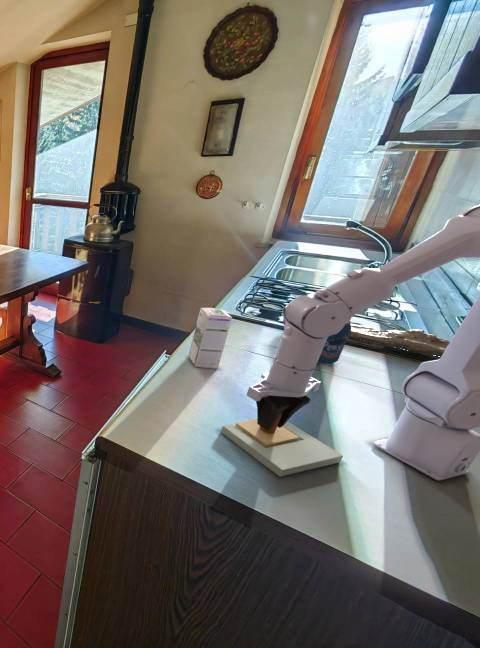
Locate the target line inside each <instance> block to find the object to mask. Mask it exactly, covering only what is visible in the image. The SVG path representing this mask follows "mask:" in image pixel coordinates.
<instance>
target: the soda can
mask: <svg viewBox="0 0 480 648" xmlns="http://www.w3.org/2000/svg"><path fill="white" fill-rule="evenodd" d="M351 324H352V321H351V320H349V321H347V322H346V324H345V325H344V327H343V328H342V329H341V330H340V331H339V332H338V333H337V334H334V335H331V336H328V338H327V340H326V343H325V345H324V347H323V350H322V352H321V355H320V357H319V359H318V362H317V364H321V365H325V366H326V365H327V366H329V365H330V366H331V365H333V364H334V363H337V362H338V361H339V360H340V357H341V354H342V352H343V350H344V348H345V346H346V343H347V341H348V336H349V334H350V332H351V329H352V328H351Z"/></svg>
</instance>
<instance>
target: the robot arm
mask: <svg viewBox="0 0 480 648" xmlns="http://www.w3.org/2000/svg"><path fill="white" fill-rule="evenodd" d="M460 258H479V259H480V204H479V205H475V206H472V207H470V208H468V209H467V210H465V211H463V212H462V213H461V214H459V215H456V216H453V217H451V218H450V219H448V220H447V221H446V223H445V224H444V226H443V228H442V229H441V230H440V231H438V232H436V233H435V234H433V235H432V236H430V237H428V238H426V239H425V240H423V241H421V242H419V243H418V244H417V245H414V246H413V247H412V248H410V249H408V250H406V251H404V252H403V253H401V254H400V255H398V256H396V257H394V258H393V259H391V260H389V262H386V263H384V264H383V265H381V266H379V267H377V268H369V267H363V268H359V269H353V270H350V271H349V272H347V273H346V276H345V277H343V278H341V279H340V280H338V281H335V282H334V283H332V284H330V285H327V286H326V287H324V288H320V289H318V290H317V291H315V293H314V294H307V295H306V294H303V295H299V296H297V297H295V298H294V299H292V300H291V301H290V302H289V303H288V304H287V305H286V306H283V307H282V311H281V312H282V313H281V314H282V317H283V319H285V326H284V325H283V332H282V335H281V337H280V340H279V343H278V345H277V348H276V352H275V354H274V357H273V359H272V362H271V365H270V367H269V370H268V372H263V373H261V375H260V378H261V380H259V381H258V382H257V383H255V384H254V385H250V386H249V387H248V389H247V392H246V397H248V398H249V399H251V400H253V401H255V403H256V413H257V415H256V417H257V418H256V419H257V424H258V425H260V426H261V427H263V428H264V429H266V430H270V429H271V428H272V427H273V425H274V423H275V421H276V420H277V418H278V416H279V415H280V414H281V413H282V416H281V418H280V421H279V423H278V426H277V427H279V428H281V427H282V426H283V425H284V424H285V423H286V422H287V421H288V422H289V420H290V419H291V418H292V416H293V415H294V414H295V413H296V412H297V411H299V410H300V409H301V408H303V407H305V406H307V405H308V404H309V403H310V402H311V398H310V397H309V396H307V394H308V393H309V392H310V391H311V392H317V391H318V390H319V387H320V385H321V383H322V382H321V381H319V380H318V379H316V378H314V377H312V376H313V374H314V372H315V369H316V367H317V364H318V363H317V362H318V359H319V357H320V355H321V352H322V350H323V347H324V345H325V343H326V340H327V338H328V336H331V335H334V334H337V333H338V332H339V331H340V330H341V329H342V328H343V327H344V325H345V324H346V322H347V321H349V320H350V321H351V320H352V318H353V317H354V316H355V315H357V314H359V313H362V312H363V311H366V310H368V309H370V308H372V307H373V306H375V305H377V304H380V303H382V302H385V301H386V300H388V299H390V298H391V297H393V295H394V292H395V289H396V286H399V285H400V284H403V283H405V282H407V281H410V280H412V279H414V278H416V277H419V276H421V275H423V274H426V273H428V272H430V271H432V270H435V269H437V268H439V267H442V266H444V265H446V264H449V263H451V262H453V261H456V260H457V259H460ZM449 342H450V343H449V345H448V347H447V348H446V350H445V352H444V353H443V355H442V356H441V358H438V359H434V360H428V361H423V362H421V363H420V364H419V366H418V368H417V369H416V370H415V371H414V372H413V373H411V374H410V375H408V376H407V377H406V378H405V379H404V380H403V382H402V384H401V392H402V394H403V395H404V396H405V398H404V401H403V403H405V404H406V405H405V406H404V409H403V410H402V412H401V414H400V415H399V417H398V419H397V421H396V423H395V425H394V426H393V429H392V430H391V432H390V433H389V435H388V438H383V439H381V440H376V441H372V446H374V447H376V448H378V449H380V450H381V451H383V452H385V453H387V454H389V455H391V456H392V457H393V458H396V459H397V460H399V461H401V462H402V463H405V464H406V465H407V466H410V467H412V468H413V469H415V470H417V471H419V472H420V473H422V474H424V475H426V476H428V477H430V478H431V479H433V480H435V481H438V482H439V481H440V482H441V481H443V480H444V481H445V480H447V479H450V478H451V479H452V478H454V477H459V476H461V475H465V474H468V473H469V468H470V467H471V466H472V465H473V462H474V461H475V459H476V458H477V456H478V455H479V454H480V433H478V432H477V431H475V430H473V429H476V428H480V293H478V295H477V297H476V298H475V301H474V302H473V304H472V305H471V307H470V309H469V310H468V312H467V314H466V316H465V317H464V319H463V320H462V322H461V323H460V325H459V327H458V328H457V330H456V332H455V333H454V335H453V337H452V339H451V340H450V341H449Z"/></svg>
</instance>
